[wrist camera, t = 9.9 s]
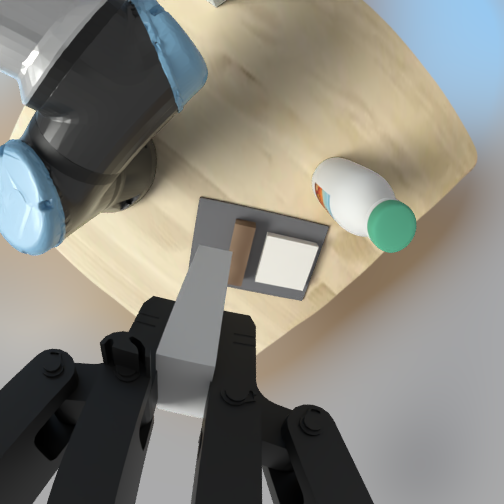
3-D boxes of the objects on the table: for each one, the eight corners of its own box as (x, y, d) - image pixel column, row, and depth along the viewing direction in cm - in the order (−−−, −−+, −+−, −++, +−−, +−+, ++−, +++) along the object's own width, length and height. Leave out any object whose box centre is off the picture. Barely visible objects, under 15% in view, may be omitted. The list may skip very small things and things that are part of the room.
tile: (255, 281, 45) (302, 290, 45) (267, 235, 41) (318, 247, 42) (255, 276, 46) (301, 285, 47) (267, 231, 43) (316, 242, 44)
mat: (187, 276, 47) (187, 278, 46) (200, 197, 41) (199, 197, 41) (301, 299, 49) (301, 300, 48) (328, 226, 43) (328, 226, 42)
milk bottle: (308, 158, 38) (355, 189, 20) (358, 155, 38) (433, 184, 20) (312, 209, 42) (354, 275, 24) (360, 204, 41) (426, 263, 23)
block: (223, 275, 46) (222, 282, 44) (236, 218, 42) (235, 223, 40) (241, 279, 46) (241, 286, 44) (255, 222, 42) (255, 228, 40)
